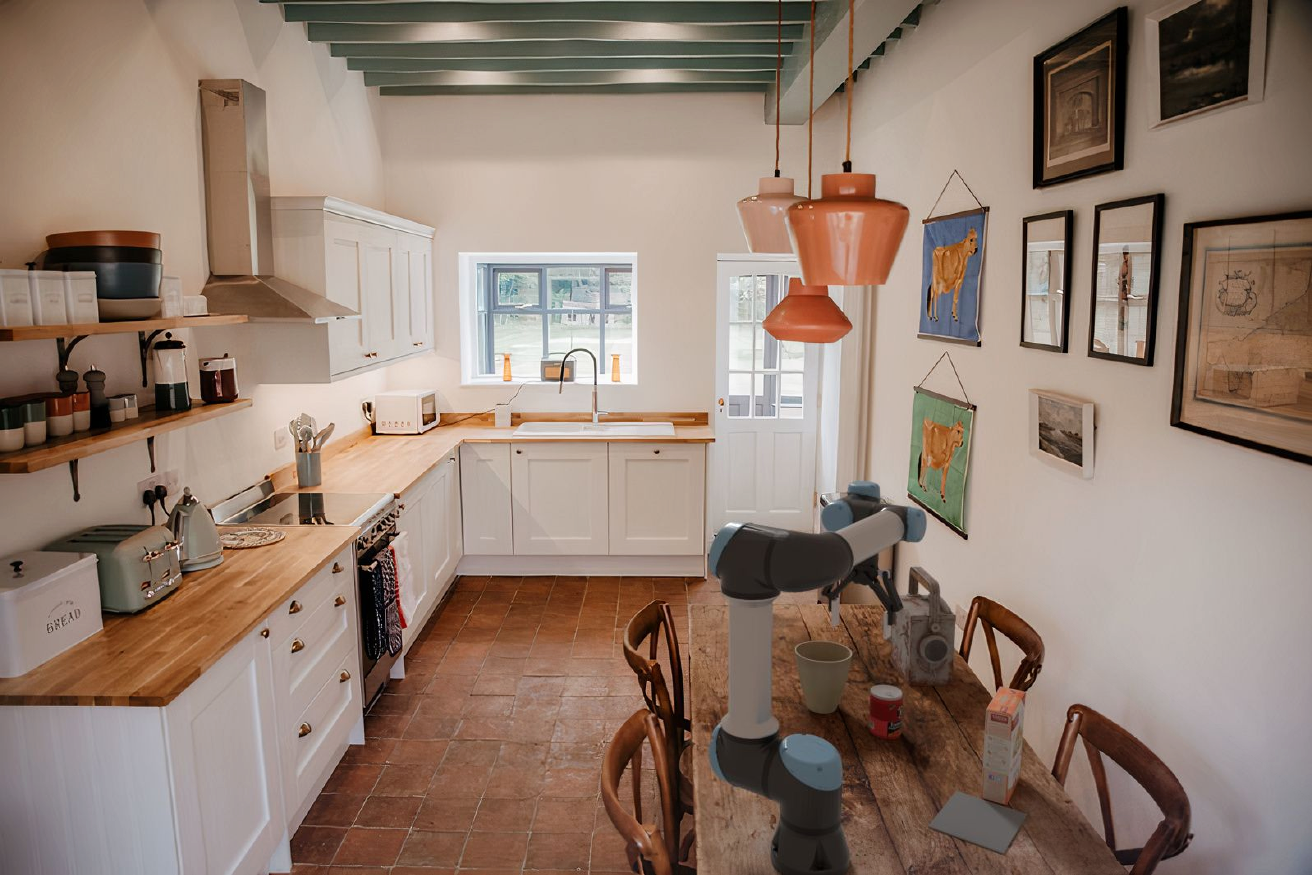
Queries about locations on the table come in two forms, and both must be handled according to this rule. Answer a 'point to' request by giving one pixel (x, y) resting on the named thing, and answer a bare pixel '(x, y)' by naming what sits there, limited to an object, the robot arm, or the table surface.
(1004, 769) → the cracker box
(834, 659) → the plant pot
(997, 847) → the mat
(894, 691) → the canned food
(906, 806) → the table surface
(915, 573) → the lantern
